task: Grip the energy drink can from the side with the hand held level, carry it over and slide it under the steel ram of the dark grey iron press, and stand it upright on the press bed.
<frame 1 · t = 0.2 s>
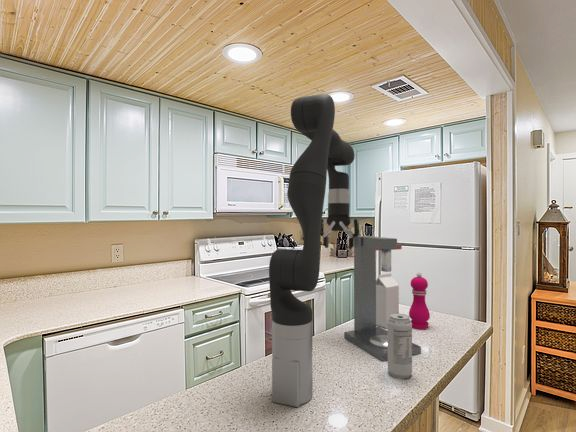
hand: (338, 248, 119), 30 cm above the counter, tool pointing down, fingers open, 8 cm apart
energy drink can: (399, 374, 88), on the counter
pepper mill: (419, 327, 125), on the counter
arbor press: (386, 348, 104), on the counter
milk carton: (385, 325, 128), on the counter
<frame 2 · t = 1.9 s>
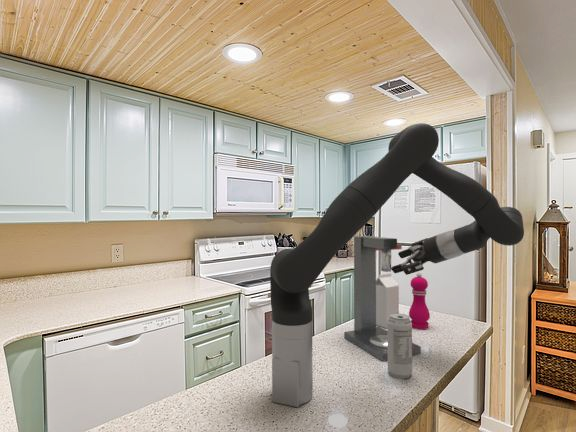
hand: (396, 262, 107), 26 cm above the counter, tool tilted 70°, fingers open, 7 cm apart
nothing on the counter moved.
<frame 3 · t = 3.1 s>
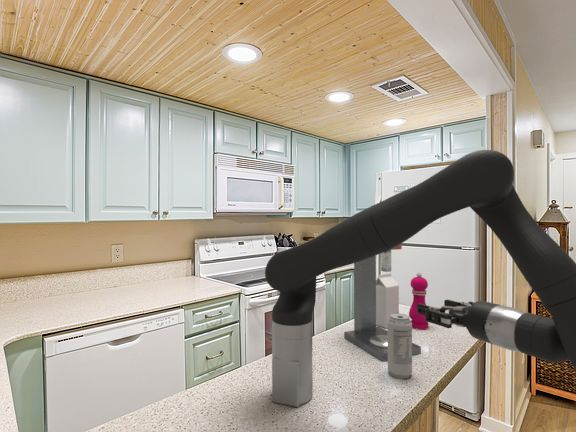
hand: (431, 306, 78), 20 cm above the counter, tool horizontal, fingers open, 8 cm apart
nothing on the counter moved.
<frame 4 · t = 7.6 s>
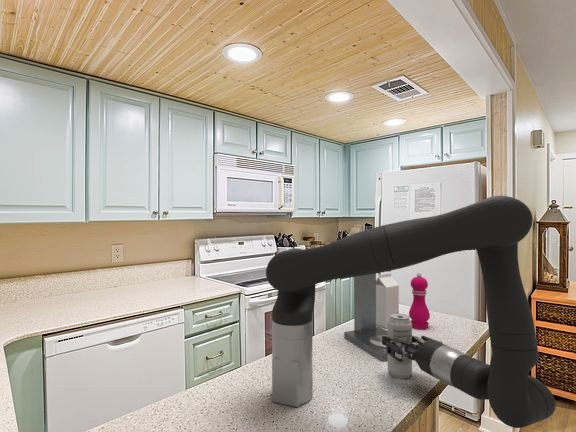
hand: (393, 338, 90), 9 cm above the counter, tool horizontal, fingers closed on energy drink can, 6 cm apart
energy drink can: (399, 374, 88), on the counter, touching gripper
everything else where it was.
when the fingers open (12 cm above the counter, at t = 13.7 s): energy drink can stays where it is, resting on arbor press.
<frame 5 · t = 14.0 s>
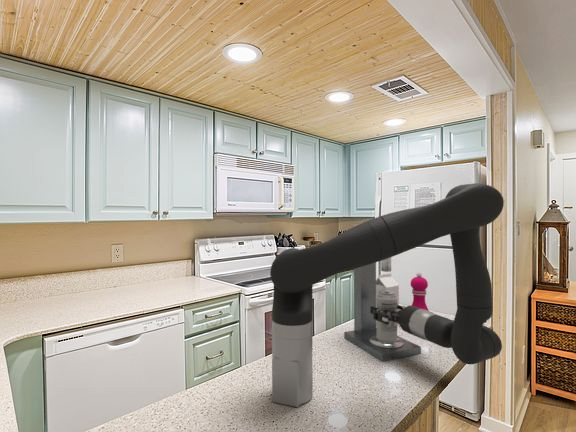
hand: (382, 308, 106), 12 cm above the counter, tool horizontal, fingers open, 8 cm apart
energy drink can: (386, 341, 104), point 2 cm above the counter, touching arbor press
everything else where it was.
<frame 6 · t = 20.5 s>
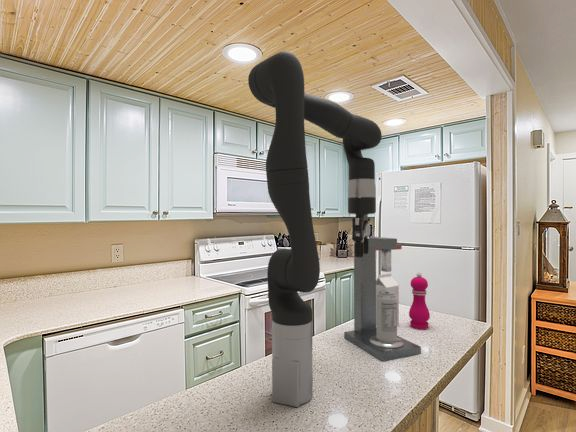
hand: (361, 255, 93), 30 cm above the counter, tool pointing down, fingers open, 8 cm apart
nothing on the counter moved.
at the end: energy drink can inside the target area on the arbor press (0.1 cm from its centre), point 2.3 cm above the arbor press's base; energy drink can tilted 0°; the gripper is holding nothing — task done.
